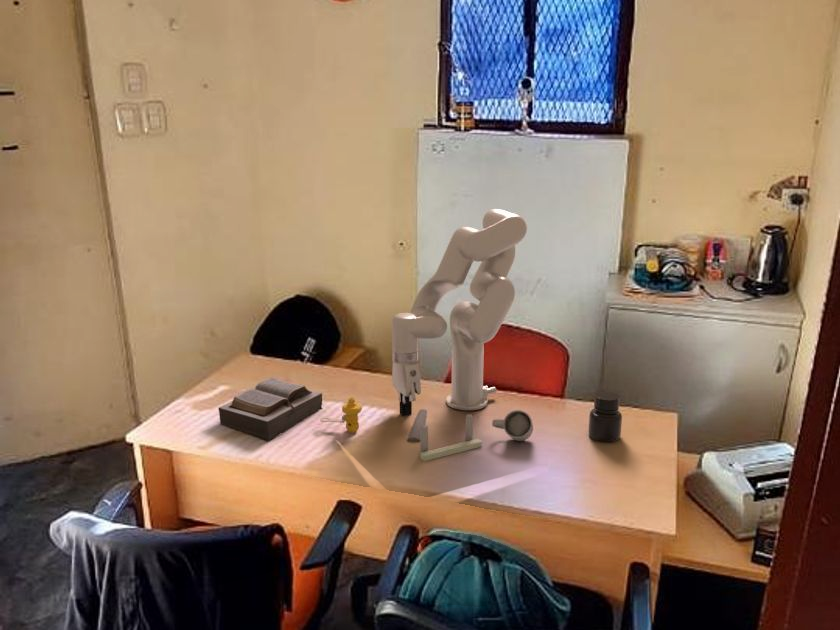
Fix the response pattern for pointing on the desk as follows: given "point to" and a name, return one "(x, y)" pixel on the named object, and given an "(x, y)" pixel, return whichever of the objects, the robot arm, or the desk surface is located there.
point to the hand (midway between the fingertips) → (405, 413)
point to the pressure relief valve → (348, 415)
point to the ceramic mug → (516, 425)
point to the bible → (270, 408)
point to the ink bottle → (605, 417)
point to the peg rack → (450, 449)
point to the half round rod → (417, 426)
